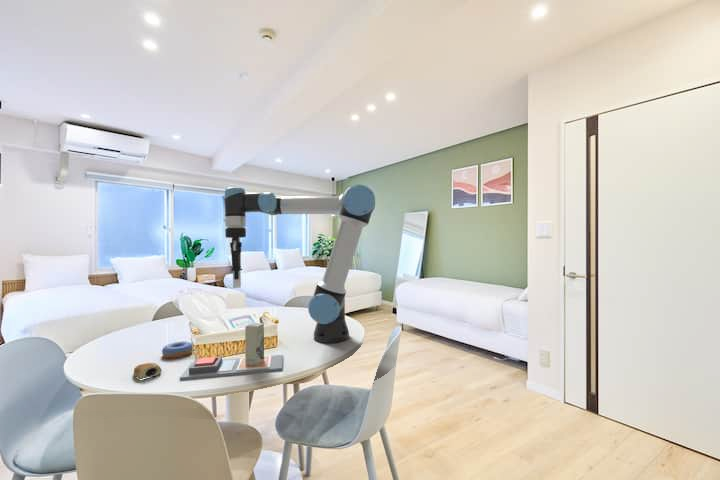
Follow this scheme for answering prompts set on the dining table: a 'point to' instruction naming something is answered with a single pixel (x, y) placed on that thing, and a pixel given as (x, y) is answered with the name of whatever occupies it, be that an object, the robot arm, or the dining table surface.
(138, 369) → the pastry
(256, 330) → the box
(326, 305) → the robot arm
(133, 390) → the dining table surface
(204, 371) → the picture board
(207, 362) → the button
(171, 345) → the doughnut
